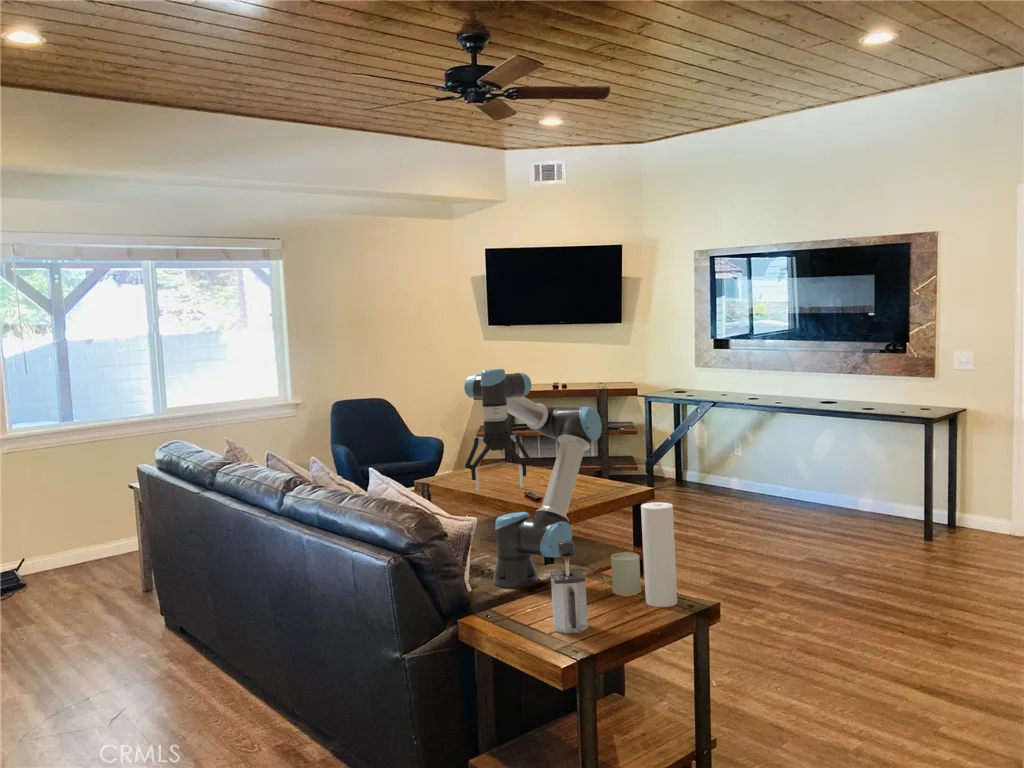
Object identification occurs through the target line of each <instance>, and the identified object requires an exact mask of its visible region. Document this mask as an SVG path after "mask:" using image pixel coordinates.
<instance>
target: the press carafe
mask: <svg viewBox="0 0 1024 768" xmlns="http://www.w3.org/2000/svg"><path fill="white" fill-rule="evenodd" d="M569 573H570V576H566V570H556V571H551V572H550V574H551V578H550V583H551V585H550V586H551V602H552V606H551V607H552V620H553V621H552V622H553V630H554V632H557V633H560V634H563V635H573V634H575V635H576V634H581V633H583V632H586V630H588V629H589V625H588V624H589V623H588V606H587V605H588V604H587V603H588V601H587V585H586V577H585V576H584V574H583V571H582V570H581V569H569Z"/></svg>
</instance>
